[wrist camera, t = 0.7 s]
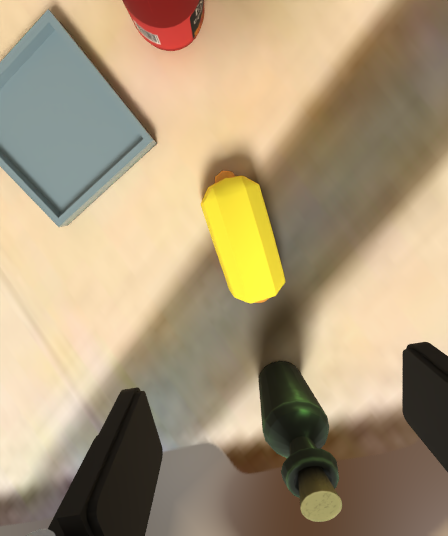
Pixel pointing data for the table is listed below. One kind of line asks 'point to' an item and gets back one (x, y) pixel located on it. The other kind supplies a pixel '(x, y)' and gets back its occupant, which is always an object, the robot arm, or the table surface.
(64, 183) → the tray
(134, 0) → the canned food
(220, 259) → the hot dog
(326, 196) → the table surface
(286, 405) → the potion bottle
